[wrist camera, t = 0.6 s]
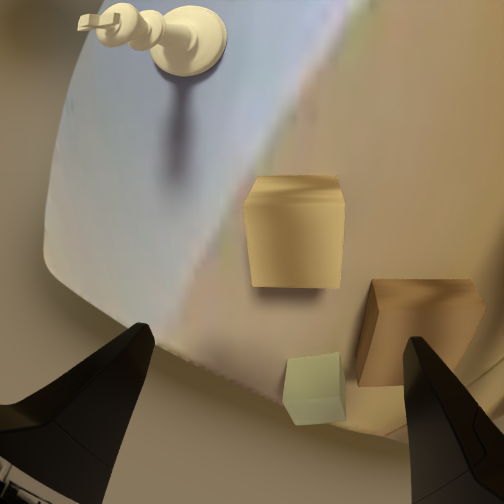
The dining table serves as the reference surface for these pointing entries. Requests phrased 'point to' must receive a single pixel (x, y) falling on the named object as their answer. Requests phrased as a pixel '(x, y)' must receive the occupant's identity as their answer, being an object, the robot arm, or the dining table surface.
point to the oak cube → (295, 231)
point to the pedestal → (415, 324)
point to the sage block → (315, 389)
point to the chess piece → (163, 35)
